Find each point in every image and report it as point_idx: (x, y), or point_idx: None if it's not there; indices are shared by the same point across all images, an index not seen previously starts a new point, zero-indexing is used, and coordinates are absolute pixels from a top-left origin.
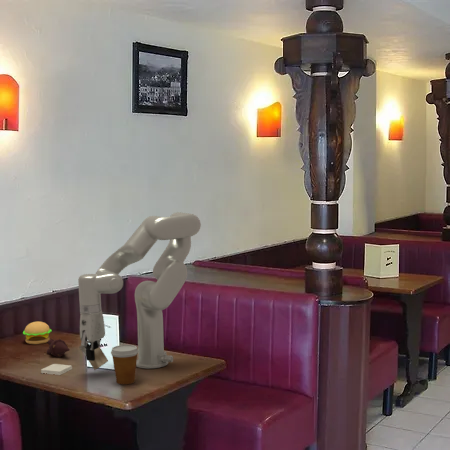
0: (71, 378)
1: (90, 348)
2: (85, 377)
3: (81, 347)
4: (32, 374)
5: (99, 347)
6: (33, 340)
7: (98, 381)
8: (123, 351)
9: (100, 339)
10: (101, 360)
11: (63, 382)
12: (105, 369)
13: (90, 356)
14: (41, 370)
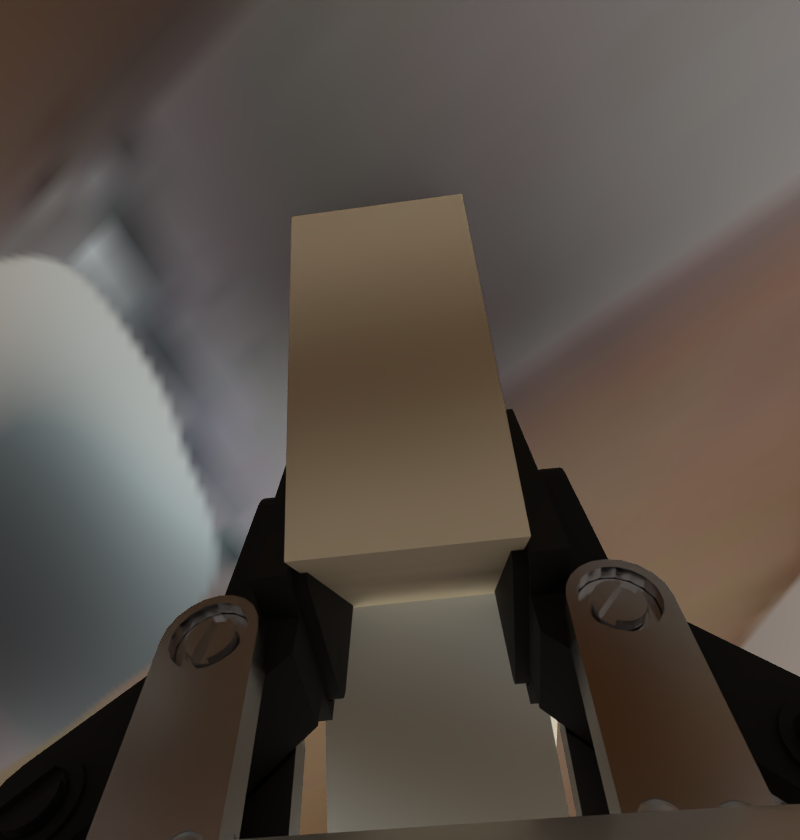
0: (615, 487)
1: (672, 624)
2: (543, 387)
3: (552, 801)
4: None
5: (307, 546)
6: None
7: (656, 119)
8: None
9: (26, 808)
10: (474, 267)
11: (759, 476)
12: (191, 371)
13: (570, 493)
14: None
